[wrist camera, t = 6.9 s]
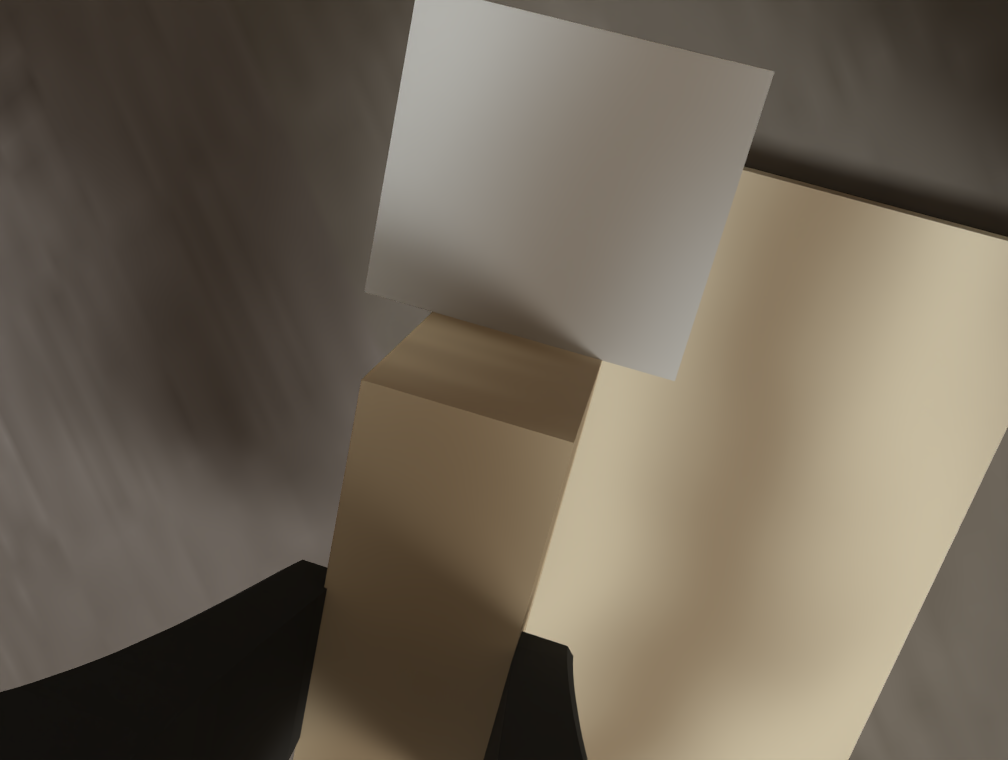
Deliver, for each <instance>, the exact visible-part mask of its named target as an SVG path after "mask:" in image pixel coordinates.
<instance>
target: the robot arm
mask: <svg viewBox="0 0 1008 760" xmlns="http://www.w3.org/2000/svg"><path fill="white" fill-rule="evenodd" d="M327 569H328V568H326V567H323V566H320V565H317V564H314V563H311V562H308V561H305V560H301V561H299V562H297V563H295V564H293V565H291V566H289V567H287V568H285V569H283V570H281V571H279V572H277V573H275V574H274V575H272V576H270V577H268V578H266V579H264V580H262V581H261V582H259V583H257V584H255V585H253V586H251V587H250V588H248V589H246V590H244V591H242V592H240V593H238V594H236V595H235V596H233V597H231V598H229V599H227V600H225V601H223V602H221V603H219V604H217V605H215V606H213V607H212V608H210V609H208V610H206V611H204V612H202V613H200V614H198V615H196V616H194V617H192V618H190V619H188V620H186V621H184V622H182V623H180V624H178V625H176V626H174V627H172V628H169V629H167V630H165V631H163V632H160V633H158V634H156V635H154V636H152V637H149V638H147V639H145V640H143V641H140V642H138V643H136V644H134V645H131V646H129V647H127V648H125V649H122V650H120V651H118V652H116V653H113V654H111V655H108V656H106V657H103V658H101V659H98V660H95V661H93V662H90V663H87V664H85V665H82V666H80V667H77V668H74V669H71V670H68V671H65V672H62V673H60V674H57V675H54V676H51V677H48V678H45V679H42V680H39V681H36V682H33V683H30V684H27V685H24V686H21V687H17V688H14V689H10V690H7V691H3V692H0V760H289V758H290V756H291V754H292V752H293V751H294V749H295V747H296V745H297V743H298V741H299V739H300V735H301V730H302V724H303V719H304V713H305V708H306V702H307V697H308V691H309V685H310V680H311V674H312V669H313V663H314V658H315V652H316V647H317V641H318V636H319V630H320V625H321V619H322V614H323V608H324V603H325V597H326V592H327V588H325V587H324V585H325V580H326V574H327ZM483 760H588V759H587V755H586V750H585V746H584V742H583V737H582V732H581V727H580V722H579V716H578V710H577V703H576V696H575V688H574V677H573V655H572V653H571V651H570V649H569V647H568V646H566V645H563V644H560V643H557V642H554V641H551V640H548V639H545V638H542V637H539V636H535V635H532V634H529V633H526V632H523V631H522V632H521V635H520V638H519V641H518V644H517V647H516V650H515V653H514V655H513V658H512V661H511V665H510V668H509V672H508V675H507V679H506V682H505V686H504V689H503V693H502V696H501V700H500V703H499V707H498V710H497V714H496V717H495V721H494V724H493V728H492V731H491V735H490V738H489V742H488V745H487V749H486V752H485V756H484V759H483Z"/></svg>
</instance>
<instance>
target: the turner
mask: <svg viewBox="0 0 1008 760" xmlns="http://www.w3.org/2000/svg"><path fill="white" fill-rule="evenodd" d="M773 75H774V71H771V70H767V69H763V68H758V67H754V66H750V65H746V64H742V63H738V62H734V61H730V60H726V59H722V58H718V57H713V56H709V55H705V54H701V53H697V52H693V51H689V50H685V49H681V48H677V47H673V46H669V45H664V44H660V43H656V42H652V41H648V40H644V39H640V38H636V37H632V36H628V35H624V34H620V33H615V32H611V31H607V30H603V29H599V28H595V27H591V26H587V25H583V24H579V23H575V22H570V21H566V20H562V19H558V18H554V17H550V16H546V15H542V14H538V13H534V12H530V11H526V10H521V9H517V8H513V7H509V6H505V5H501V4H497V3H493V2H489V1H485V0H415V4H414V9H413V15H412V21H411V27H410V32H409V38H408V44H407V50H406V55H405V61H404V67H403V73H402V78H401V84H400V90H399V96H398V101H397V107H396V113H395V119H394V125H393V130H392V136H391V142H390V148H389V153H388V159H387V165H386V171H385V176H384V182H383V188H382V194H381V199H380V205H379V211H378V217H377V222H376V228H375V234H374V240H373V245H372V251H371V257H370V263H369V268H368V274H367V280H366V286H365V291H364V292H365V293H369V294H372V295H376V296H379V297H383V298H386V299H390V300H393V301H397V302H400V303H404V304H407V305H411V306H414V307H418V308H421V309H425V310H428V311H432V313H431V314H430V315H429V316H428V317H427V318H426V319H425V320H424V321H423V322H422V323H420V324H419V325H418V326H417V327H416V328H415V329H414V330H413V331H412V332H411V333H410V334H409V335H408V336H407V337H406V338H405V339H404V340H403V341H402V342H401V343H399V344H398V345H397V346H396V347H395V348H394V349H393V350H392V351H391V352H390V353H389V354H388V355H387V356H386V357H385V358H384V359H383V360H382V361H381V362H379V363H378V364H377V365H376V366H375V367H374V368H373V369H372V370H371V371H370V372H369V373H368V374H367V375H366V376H365V377H364V378H363V379H362V380H361V385H360V390H359V396H358V401H357V407H356V413H355V418H354V424H353V429H352V435H351V440H350V446H349V452H348V457H347V463H346V468H345V474H344V479H343V485H342V491H341V496H340V502H339V507H338V513H337V518H336V524H335V530H334V535H333V541H332V546H331V552H330V558H329V563H328V569H327V574H326V580H325V585H324V587H325V588H327V592H326V597H325V603H324V608H323V614H322V619H321V625H320V630H319V636H318V641H317V647H316V652H315V658H314V663H313V669H312V674H311V680H310V685H309V691H308V697H307V702H306V708H305V713H304V719H303V724H302V730H301V735H300V739H299V741H298V743H297V745H296V747H295V753H294V758H293V760H483V759H484V756H485V752H486V749H487V745H488V742H489V738H490V735H491V731H492V728H493V724H494V721H495V717H496V714H497V710H498V707H499V703H500V700H501V696H502V693H503V689H504V686H505V682H506V679H507V675H508V672H509V668H510V665H511V661H512V658H513V655H514V653H515V650H516V647H517V644H518V641H519V638H520V635H521V632H522V631H523V632H525V630H526V627H527V623H528V620H529V617H530V613H531V610H532V606H533V603H534V599H535V596H536V592H537V589H538V585H539V582H540V578H541V575H542V571H543V568H544V564H545V561H546V557H547V554H548V550H549V547H550V543H551V540H552V536H553V533H554V529H555V526H556V522H557V519H558V515H559V512H560V508H561V505H562V501H563V498H564V494H565V491H566V487H567V484H568V481H569V477H570V474H571V470H572V467H573V463H574V460H575V456H576V453H577V449H578V446H579V442H580V439H581V435H582V432H583V428H584V425H585V421H586V418H587V414H588V411H589V407H590V404H591V400H592V397H593V393H594V390H595V386H596V383H597V379H598V376H599V372H600V369H601V365H602V362H603V361H606V362H609V363H613V364H616V365H620V366H623V367H627V368H630V369H634V370H637V371H641V372H644V373H648V374H651V375H655V376H658V377H662V378H665V379H669V380H672V381H675V379H676V376H677V373H678V370H679V367H680V363H681V360H682V357H683V354H684V351H685V348H686V345H687V342H688V339H689V335H690V332H691V329H692V326H693V323H694V320H695V317H696V314H697V311H698V308H699V304H700V301H701V298H702V295H703V292H704V289H705V286H706V283H707V280H708V277H709V273H710V270H711V267H712V264H713V261H714V258H715V255H716V252H717V249H718V245H719V242H720V239H721V236H722V233H723V230H724V227H725V224H726V221H727V218H728V214H729V211H730V208H731V205H732V202H733V199H734V196H735V193H736V190H737V186H738V183H739V180H740V177H741V174H742V171H743V168H744V165H745V162H746V159H747V155H748V152H749V149H750V146H751V143H752V140H753V137H754V134H755V131H756V128H757V124H758V121H759V118H760V115H761V112H762V109H763V106H764V103H765V100H766V96H767V93H768V90H769V87H770V84H771V81H772V78H773Z"/></svg>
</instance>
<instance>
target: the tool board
mask: <svg viewBox="0 0 1008 760" xmlns="http://www.w3.org/2000/svg"><path fill="white" fill-rule="evenodd" d="M1007 427H1008V237H1006V236H1002V235H998V234H994V233H991V232H987V231H983V230H979V229H976V228H972V227H968V226H965V225H961V224H957V223H953V222H950V221H946V220H942V219H938V218H935V217H931V216H927V215H924V214H920V213H916V212H912V211H909V210H905V209H901V208H897V207H894V206H890V205H886V204H883V203H879V202H875V201H871V200H868V199H864V198H860V197H856V196H853V195H849V194H845V193H842V192H838V191H834V190H830V189H827V188H823V187H819V186H815V185H812V184H808V183H804V182H801V181H797V180H793V179H789V178H786V177H782V176H778V175H774V174H771V173H767V172H763V171H760V170H756V169H752V168H748V167H745V166H744V168H743V171H742V174H741V177H740V180H739V183H738V186H737V190H736V193H735V196H734V199H733V202H732V205H731V208H730V211H729V214H728V218H727V221H726V224H725V227H724V230H723V233H722V236H721V239H720V242H719V245H718V249H717V252H716V255H715V258H714V261H713V264H712V267H711V270H710V273H709V277H708V280H707V283H706V286H705V289H704V292H703V295H702V298H701V301H700V304H699V308H698V311H697V314H696V317H695V320H694V323H693V326H692V329H691V332H690V335H689V339H688V342H687V345H686V348H685V351H684V354H683V357H682V360H681V363H680V367H679V370H678V373H677V376H676V379H675V381H672V380H669V379H665V378H662V377H658V376H655V375H651V374H648V373H644V372H641V371H637V370H634V369H630V368H627V367H623V366H620V365H616V364H613V363H609V362H606V361H603V362H602V365H601V369H600V372H599V376H598V379H597V383H596V386H595V390H594V393H593V397H592V400H591V404H590V407H589V411H588V414H587V418H586V421H585V425H584V428H583V432H582V435H581V439H580V442H579V446H578V449H577V453H576V456H575V460H574V463H573V467H572V470H571V474H570V477H569V481H568V484H567V487H566V491H565V494H564V498H563V501H562V505H561V508H560V512H559V515H558V519H557V522H556V526H555V529H554V533H553V536H552V540H551V543H550V547H549V550H548V554H547V557H546V561H545V564H544V568H543V571H542V575H541V578H540V582H539V585H538V589H537V592H536V596H535V599H534V603H533V606H532V610H531V613H530V617H529V620H528V623H527V627H526V630H525V632H526V633H529V634H532V635H535V636H539V637H542V638H545V639H548V640H551V641H554V642H557V643H560V644H563V645H566V646H568V647H569V649H570V651H571V653H572V655H573V677H574V688H575V696H576V703H577V710H578V716H579V722H580V727H581V732H582V737H583V742H584V746H585V750H586V755H587V759H588V760H848V759H849V757H850V755H851V753H852V751H853V749H854V747H855V745H856V743H857V740H858V738H859V736H860V734H861V732H862V730H863V728H864V726H865V724H866V722H867V720H868V717H869V715H870V713H871V711H872V709H873V707H874V705H875V703H876V701H877V699H878V697H879V694H880V692H881V690H882V688H883V686H884V684H885V682H886V680H887V678H888V676H889V674H890V672H891V669H892V667H893V665H894V663H895V661H896V659H897V657H898V655H899V653H900V651H901V649H902V646H903V644H904V642H905V640H906V638H907V636H908V634H909V632H910V630H911V628H912V626H913V623H914V621H915V619H916V617H917V615H918V613H919V611H920V609H921V607H922V605H923V603H924V600H925V598H926V596H927V594H928V592H929V590H930V588H931V586H932V584H933V582H934V580H935V577H936V575H937V573H938V571H939V569H940V567H941V565H942V563H943V561H944V559H945V557H946V554H947V552H948V550H949V548H950V546H951V544H952V542H953V540H954V538H955V536H956V534H957V531H958V529H959V527H960V525H961V523H962V521H963V519H964V517H965V515H966V513H967V511H968V508H969V506H970V504H971V502H972V500H973V498H974V496H975V494H976V492H977V490H978V488H979V485H980V483H981V481H982V479H983V477H984V475H985V473H986V471H987V469H988V467H989V465H990V462H991V460H992V458H993V456H994V454H995V452H996V450H997V448H998V446H999V444H1000V442H1001V439H1002V437H1003V435H1004V433H1005V431H1006V429H1007Z"/></svg>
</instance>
